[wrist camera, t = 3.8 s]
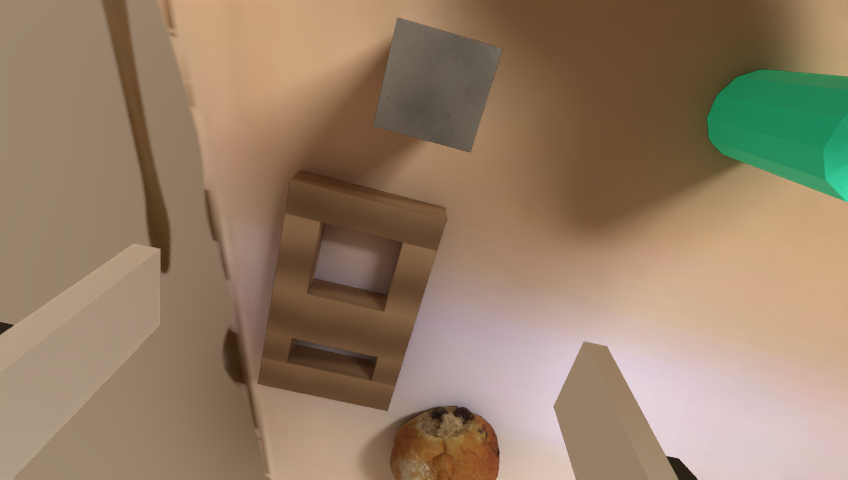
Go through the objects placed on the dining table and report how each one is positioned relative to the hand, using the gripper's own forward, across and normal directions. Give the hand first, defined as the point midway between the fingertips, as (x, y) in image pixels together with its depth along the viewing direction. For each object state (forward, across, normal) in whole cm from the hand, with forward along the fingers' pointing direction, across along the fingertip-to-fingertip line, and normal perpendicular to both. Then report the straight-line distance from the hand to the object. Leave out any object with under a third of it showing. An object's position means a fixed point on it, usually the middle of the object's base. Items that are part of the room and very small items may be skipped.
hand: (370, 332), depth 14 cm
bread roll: (+21, +9, -26) cm, 34 cm away
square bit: (+21, 0, +6) cm, 22 cm away
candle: (+22, +22, +9) cm, 32 cm away
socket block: (+20, -2, -12) cm, 24 cm away
